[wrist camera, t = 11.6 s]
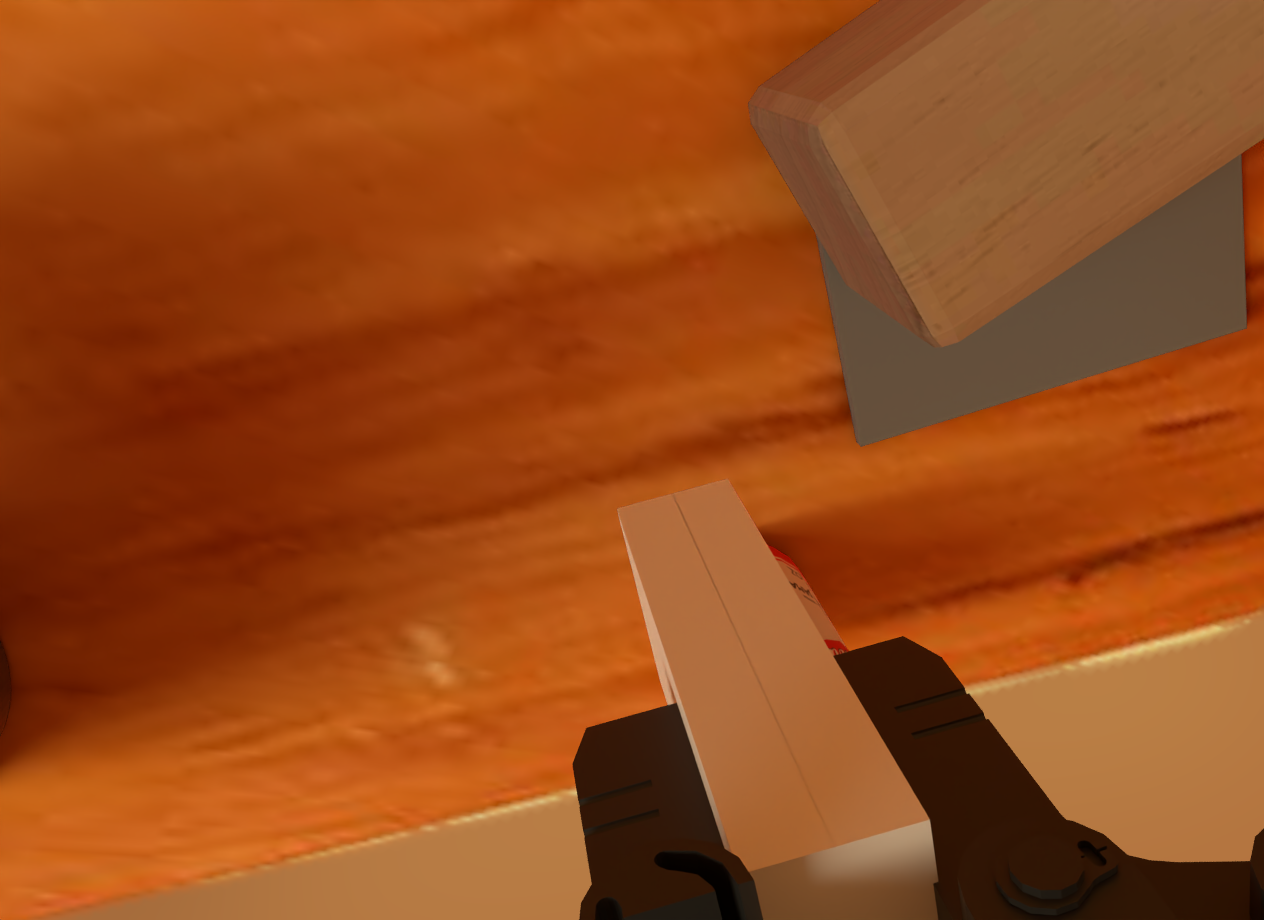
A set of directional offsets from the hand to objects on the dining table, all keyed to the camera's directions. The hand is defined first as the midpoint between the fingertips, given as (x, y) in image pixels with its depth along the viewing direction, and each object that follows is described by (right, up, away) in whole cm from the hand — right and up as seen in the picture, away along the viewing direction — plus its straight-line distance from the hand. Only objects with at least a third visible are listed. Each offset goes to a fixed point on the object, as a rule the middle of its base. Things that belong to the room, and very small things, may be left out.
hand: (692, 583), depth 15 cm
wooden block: (+7, +10, +27) cm, 29 cm away
